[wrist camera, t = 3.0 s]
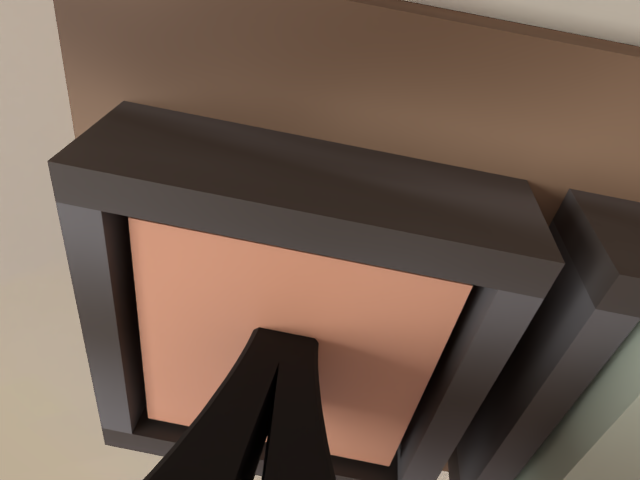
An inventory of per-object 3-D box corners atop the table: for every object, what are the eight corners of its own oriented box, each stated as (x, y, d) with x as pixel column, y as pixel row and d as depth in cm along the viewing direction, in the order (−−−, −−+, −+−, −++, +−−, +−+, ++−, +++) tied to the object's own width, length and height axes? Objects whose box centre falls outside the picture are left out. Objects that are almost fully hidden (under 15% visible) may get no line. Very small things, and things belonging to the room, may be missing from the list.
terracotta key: (389, 401, 14) (389, 466, 13) (175, 358, 14) (148, 418, 13) (460, 225, 10) (473, 286, 9) (168, 167, 10) (128, 217, 9)
